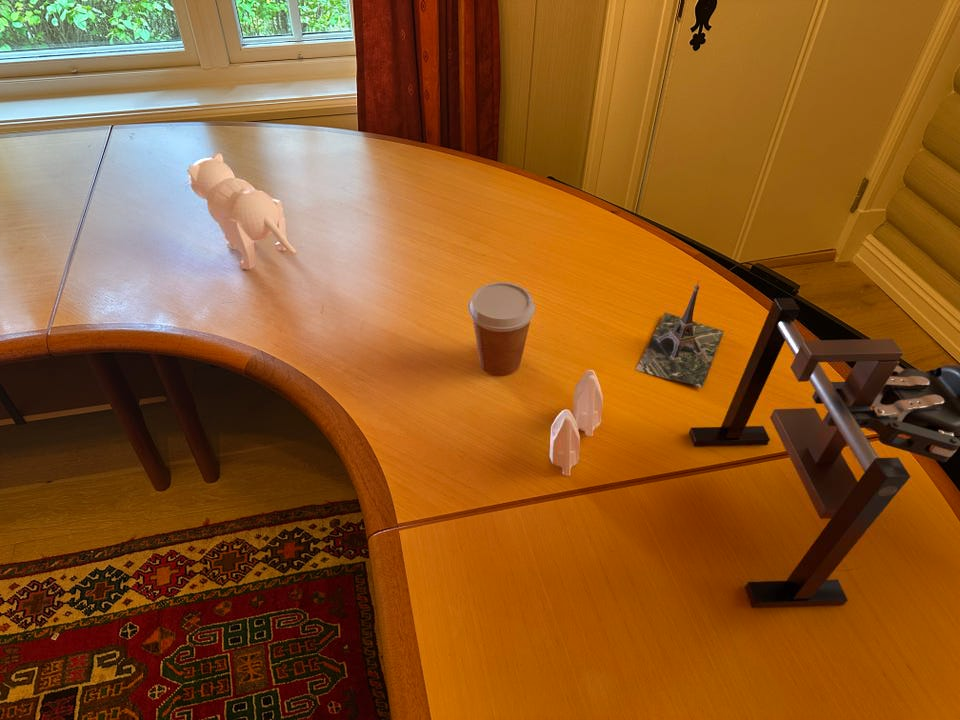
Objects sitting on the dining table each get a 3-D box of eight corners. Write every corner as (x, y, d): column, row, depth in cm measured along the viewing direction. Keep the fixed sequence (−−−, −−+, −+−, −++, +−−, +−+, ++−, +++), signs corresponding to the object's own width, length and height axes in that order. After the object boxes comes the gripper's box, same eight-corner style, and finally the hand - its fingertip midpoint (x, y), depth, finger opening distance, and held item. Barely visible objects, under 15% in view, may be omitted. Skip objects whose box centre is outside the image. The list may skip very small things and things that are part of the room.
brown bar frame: (810, 416, 73) (876, 298, 61) (867, 517, 63) (960, 400, 51) (728, 418, 73) (777, 301, 61) (772, 520, 63) (842, 403, 51)
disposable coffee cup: (517, 336, 98) (521, 274, 89) (540, 375, 91) (546, 313, 83) (461, 348, 95) (459, 287, 87) (480, 390, 89) (480, 327, 81)
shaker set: (579, 406, 86) (588, 348, 79) (606, 417, 85) (619, 360, 77) (540, 463, 79) (546, 406, 71) (569, 477, 77) (578, 420, 70)
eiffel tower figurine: (702, 392, 88) (728, 321, 79) (635, 369, 92) (652, 299, 83) (723, 332, 98) (748, 264, 89) (661, 314, 102) (680, 246, 92)
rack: (843, 605, 65) (960, 477, 49) (752, 608, 65) (840, 480, 49) (760, 431, 83) (827, 296, 67) (688, 433, 83) (738, 297, 67)
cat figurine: (323, 260, 113) (306, 177, 102) (281, 288, 107) (257, 202, 96) (235, 222, 124) (210, 142, 112) (191, 245, 117) (160, 163, 106)
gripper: (968, 328, 64) (807, 332, 64) (1064, 429, 54) (873, 434, 54) (932, 378, 69) (783, 382, 69) (1014, 479, 59) (839, 484, 59)
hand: (823, 405), depth 61 cm, fingers closed on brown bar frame, 2 cm apart
